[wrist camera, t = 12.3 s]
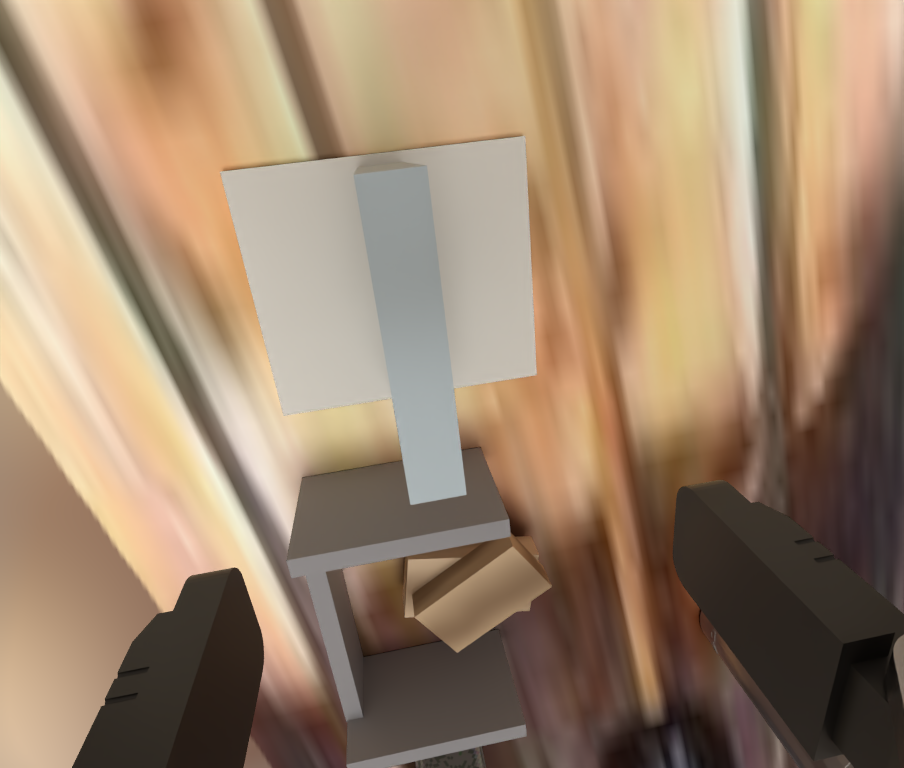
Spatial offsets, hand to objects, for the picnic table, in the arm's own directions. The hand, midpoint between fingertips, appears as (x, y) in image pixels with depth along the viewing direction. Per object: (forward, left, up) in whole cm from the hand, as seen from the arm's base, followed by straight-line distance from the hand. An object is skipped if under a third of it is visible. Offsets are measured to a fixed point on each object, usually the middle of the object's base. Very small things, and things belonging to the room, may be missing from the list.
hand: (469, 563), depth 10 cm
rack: (+2, +21, -24) cm, 32 cm away
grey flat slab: (0, 0, -23) cm, 23 cm away
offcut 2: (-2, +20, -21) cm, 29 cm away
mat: (0, 0, -24) cm, 24 cm away
